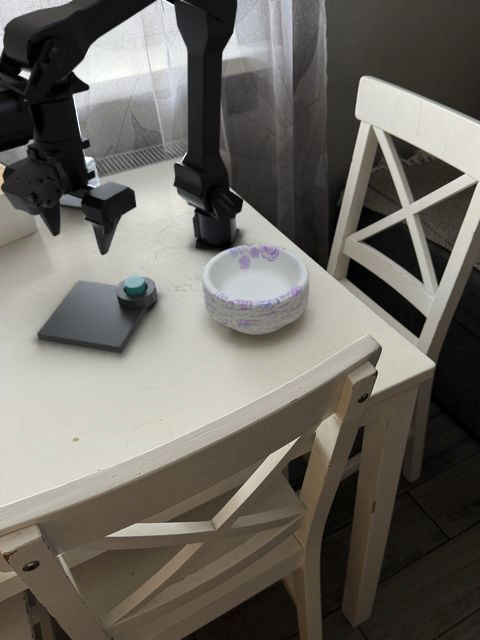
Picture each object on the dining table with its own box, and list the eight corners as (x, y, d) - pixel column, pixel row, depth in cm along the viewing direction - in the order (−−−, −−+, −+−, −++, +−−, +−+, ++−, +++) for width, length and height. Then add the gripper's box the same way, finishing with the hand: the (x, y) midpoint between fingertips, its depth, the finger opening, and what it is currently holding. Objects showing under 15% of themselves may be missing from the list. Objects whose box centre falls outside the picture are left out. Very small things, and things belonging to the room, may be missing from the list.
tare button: (149, 285, 91) (147, 277, 90) (141, 297, 89) (139, 289, 88) (131, 282, 91) (129, 274, 90) (122, 294, 89) (120, 286, 88)
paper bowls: (281, 273, 96) (281, 231, 91) (326, 330, 86) (328, 286, 81) (192, 299, 92) (186, 256, 87) (228, 361, 82) (224, 318, 77)
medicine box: (104, 199, 116) (94, 157, 110) (92, 210, 113) (81, 168, 107) (69, 193, 118) (58, 151, 112) (57, 204, 115) (44, 162, 109)
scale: (163, 294, 93) (161, 279, 91) (127, 354, 84) (123, 338, 82) (83, 282, 96) (78, 267, 94) (39, 339, 86) (33, 324, 84)
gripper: (-49, 138, 72) (-12, 250, 82) (62, 175, 65) (88, 293, 75) (23, 111, 79) (49, 217, 89) (131, 142, 72) (145, 253, 82)
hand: (80, 244), depth 84 cm, fingers open, 9 cm apart
